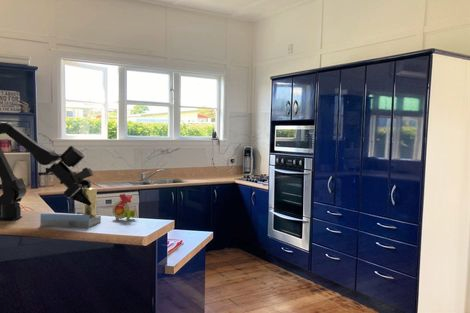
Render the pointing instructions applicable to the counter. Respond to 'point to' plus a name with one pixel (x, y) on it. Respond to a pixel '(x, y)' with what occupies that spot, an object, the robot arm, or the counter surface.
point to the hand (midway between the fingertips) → (93, 203)
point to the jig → (69, 220)
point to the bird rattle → (120, 209)
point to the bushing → (92, 196)
